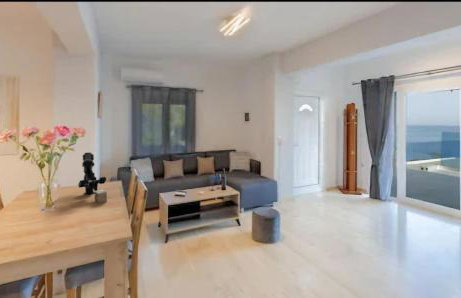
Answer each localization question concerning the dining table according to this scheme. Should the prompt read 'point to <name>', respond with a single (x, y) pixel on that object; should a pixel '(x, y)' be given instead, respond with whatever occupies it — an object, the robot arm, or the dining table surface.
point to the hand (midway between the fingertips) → (96, 191)
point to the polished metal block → (100, 196)
